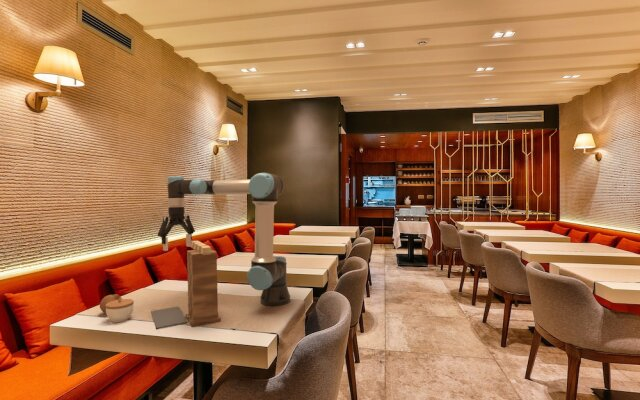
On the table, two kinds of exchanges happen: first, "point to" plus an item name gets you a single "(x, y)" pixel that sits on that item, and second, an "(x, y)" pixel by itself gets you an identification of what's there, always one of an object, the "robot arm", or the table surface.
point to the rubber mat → (168, 317)
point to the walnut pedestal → (202, 288)
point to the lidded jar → (119, 309)
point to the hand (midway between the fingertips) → (177, 248)
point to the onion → (107, 300)
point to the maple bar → (201, 247)
